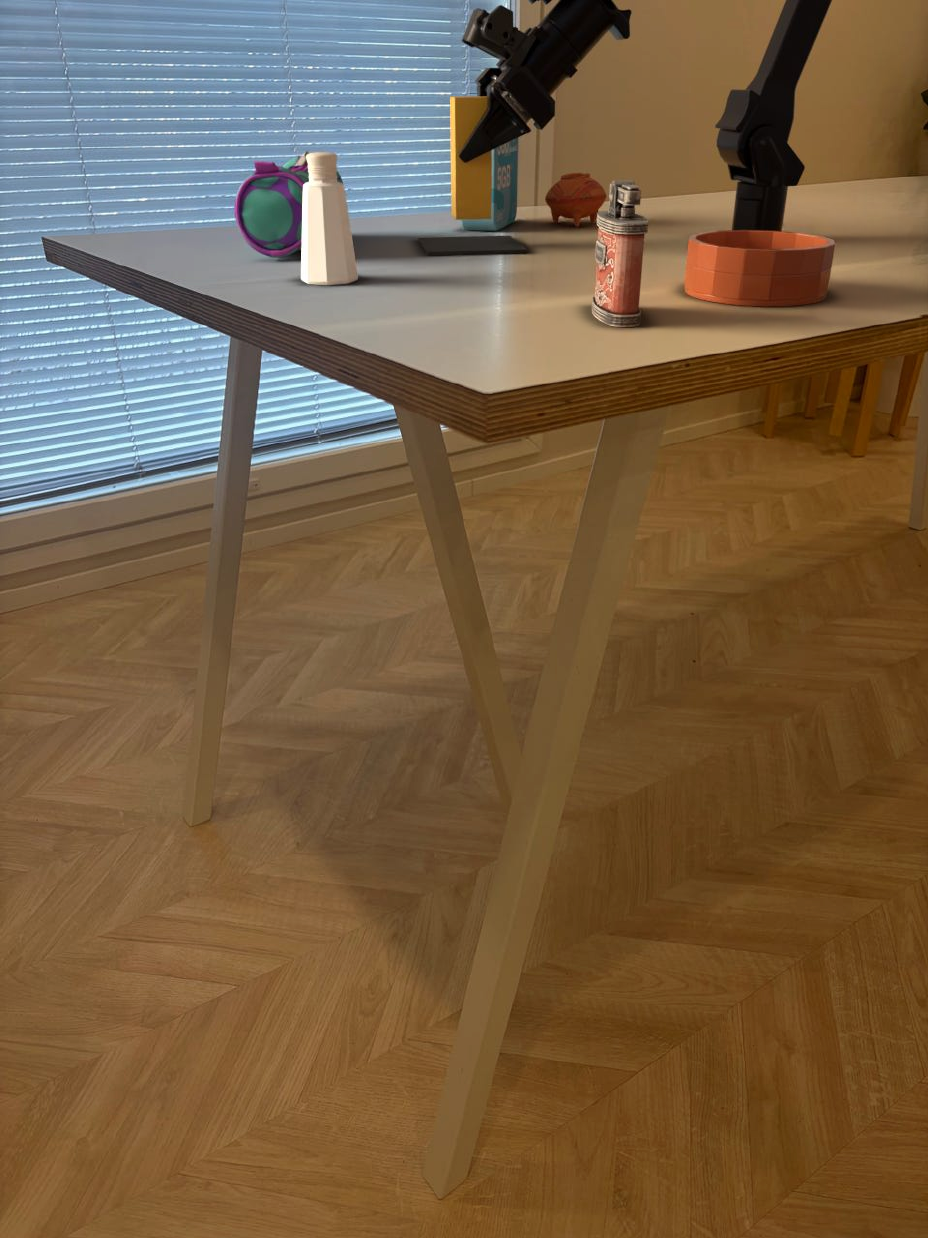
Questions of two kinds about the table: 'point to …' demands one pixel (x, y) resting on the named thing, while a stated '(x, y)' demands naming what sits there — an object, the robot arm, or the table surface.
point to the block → (476, 175)
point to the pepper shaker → (326, 225)
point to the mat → (471, 245)
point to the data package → (500, 190)
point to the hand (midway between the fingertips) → (458, 157)
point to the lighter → (619, 257)
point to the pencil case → (273, 206)
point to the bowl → (758, 267)
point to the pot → (575, 197)
